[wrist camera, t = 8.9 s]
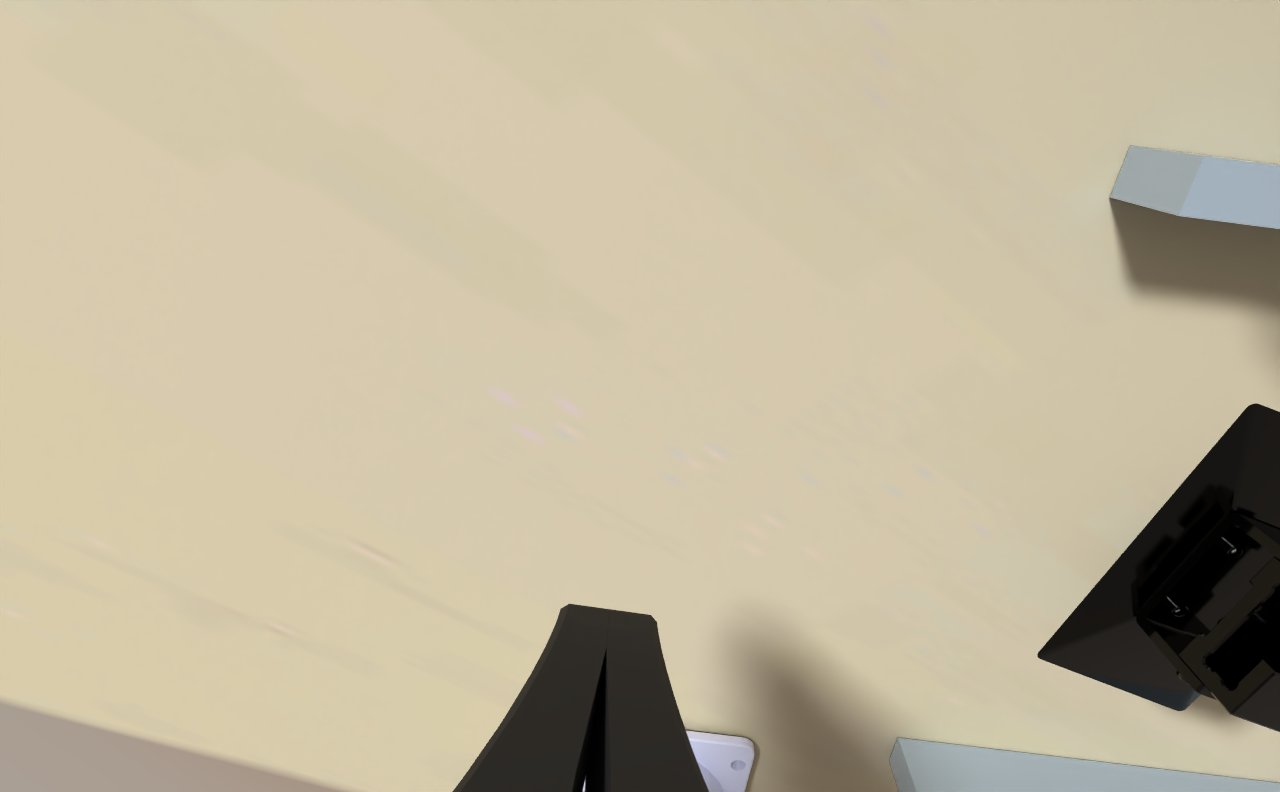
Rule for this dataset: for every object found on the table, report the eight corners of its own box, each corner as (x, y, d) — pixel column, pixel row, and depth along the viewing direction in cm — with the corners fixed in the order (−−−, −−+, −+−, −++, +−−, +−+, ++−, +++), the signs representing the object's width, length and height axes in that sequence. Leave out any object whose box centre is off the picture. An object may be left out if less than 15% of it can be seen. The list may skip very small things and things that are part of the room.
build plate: (1249, 333, 19) (1430, 410, 14) (1474, 431, 20) (1711, 532, 15) (979, 669, 24) (1051, 803, 20) (1167, 734, 25) (1277, 877, 20)
